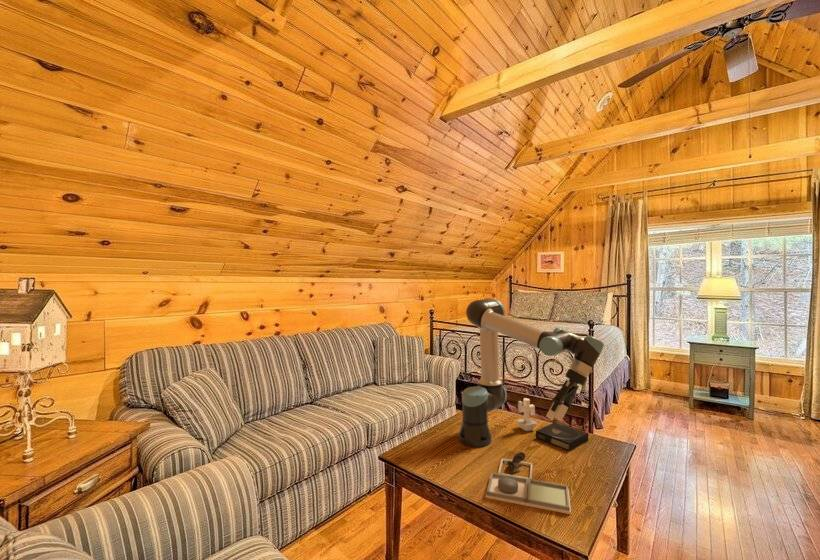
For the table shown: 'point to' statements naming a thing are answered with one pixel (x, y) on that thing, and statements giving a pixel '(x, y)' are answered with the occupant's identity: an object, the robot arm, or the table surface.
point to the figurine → (526, 415)
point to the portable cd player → (562, 436)
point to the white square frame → (518, 463)
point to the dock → (529, 492)
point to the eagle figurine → (515, 462)
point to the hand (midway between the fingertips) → (553, 419)
